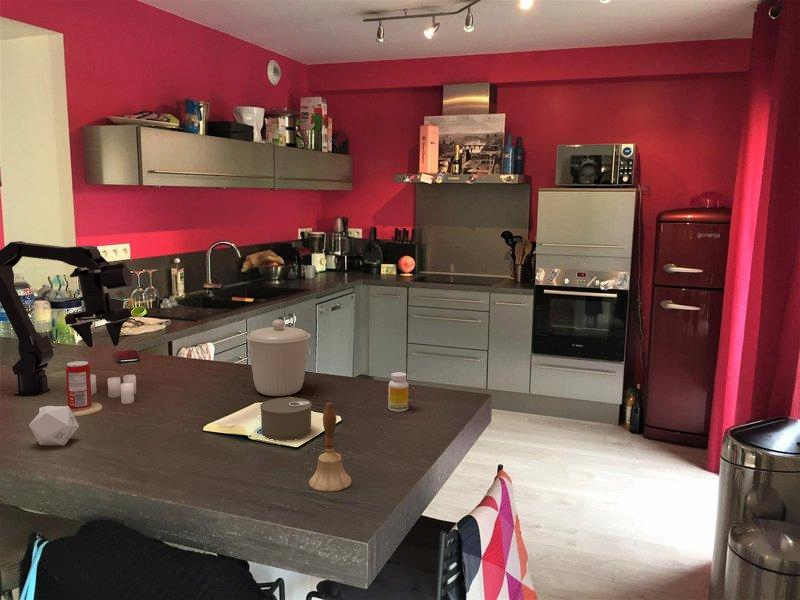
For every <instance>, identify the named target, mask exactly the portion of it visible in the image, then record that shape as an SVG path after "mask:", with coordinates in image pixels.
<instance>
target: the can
mask: <svg viewBox="0 0 800 600" xmlns="http://www.w3.org/2000/svg"><path fill="white" fill-rule="evenodd" d="M312 406H313V403H312V402H311V400H309V399H306V398H300V397H292V396H291V397H289V396H288V397H287V396H285V397H276V398H271V399H268V400H265V401H263V402H262V403H261V404H260V415H261V416H260V417H261V418H260V420H261V427H260V428H261V436H262V435H263V436H265V437H267V438H269V439H268V440H270V439H273V440H272V441H276V440H279V442H287V440H291V441H296V440H295V439H297V440H301V439H305V438H306V436H307V435H308V436H310V434H311V433H312ZM263 436H262V437H263ZM308 436H307V437H308ZM265 437H264V438H265ZM267 438H266V439H267Z"/></svg>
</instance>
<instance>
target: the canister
mask: <svg viewBox="0 0 800 600" xmlns="http://www.w3.org/2000/svg"><path fill="white" fill-rule="evenodd" d="M271 324H272V325H271V326H272V327H270V326H269V327H263V328H258V329H255V330H253V331H251V332H250V333H248V334H247V335H246V336H245V339H246V340H247V341H248V345H249V346H248V347H249V354H250V355H249V356H250V363H251V370H252V372H251V373H252V379H253V383H254V387H255V389H256V390H257V392H258V393H260V394H261V395H264V396H267V397H268V396H269V397H270V396H271V397H284V396H285V397H287V396H290V395H294V394H296V393H298V392H299V391H301V389H302V387H303V384H304V380H305V373H306V364H307V356H308V355H307V354H308V348H309V347H308V345H309V340H310V339H311V333H309V332H307V331H305V330H304V329H301V328H297V327H291V326H286V324H285V321H284V320H282V319H275V320H273V322H272V323H271Z"/></svg>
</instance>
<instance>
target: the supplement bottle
mask: <svg viewBox="0 0 800 600" xmlns="http://www.w3.org/2000/svg"><path fill="white" fill-rule="evenodd" d="M390 376H391V377H390V381H389V383H388V388H387V389H388V393H387V395H388V396H387V397H388V401H387V404H388V405H387V408H388V410H389V411H392V412H398V413H399V412H405V411H408V409H409V388H410V387H409V386H410V385H409V382H408V381H407V373H405V372H400V371H398V372H397V371H396V372H392V373H391V374H390Z"/></svg>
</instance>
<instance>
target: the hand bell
mask: <svg viewBox="0 0 800 600" xmlns="http://www.w3.org/2000/svg"><path fill="white" fill-rule="evenodd" d="M322 424H323V425H322V426H323V431H324V434H325V446H324V448H325V449H324V451H325V452H324V453H322V454H320V455H319V456H318V460H317V466H316V467H317V468H316V470H315V472H314V474H313V476H311V477H310V479H309V481H308V485H309V487H310V488H312V489H314V490H316V491H319V492H337V491H338V492H339V491H342V490H344V489H347V488H348V487H350V486H351V485H352V478H351V476H350V475H349V474H347V472H346V471H345V469H344V464H343V458H342V456H341V454H340V453H337V452H335V438H334V437H335V431H336V426H337V413H336V411H335V407H334V403H333V402H330V401H329V402H326V403H325V408H324V411H323V414H322Z"/></svg>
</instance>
